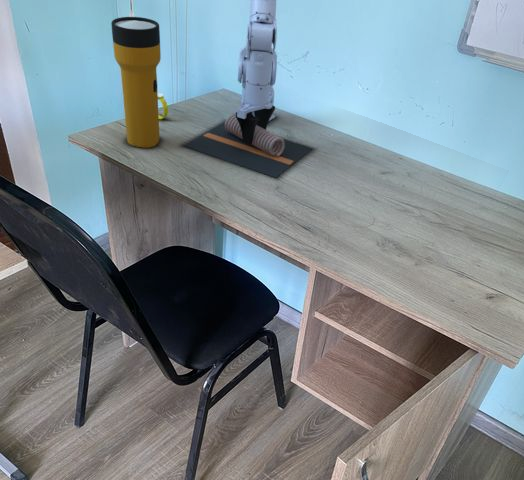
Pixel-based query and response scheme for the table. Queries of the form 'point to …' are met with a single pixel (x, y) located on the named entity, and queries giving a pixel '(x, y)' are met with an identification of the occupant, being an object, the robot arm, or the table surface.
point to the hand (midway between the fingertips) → (253, 138)
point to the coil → (257, 137)
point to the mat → (247, 152)
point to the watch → (161, 98)
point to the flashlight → (138, 76)
